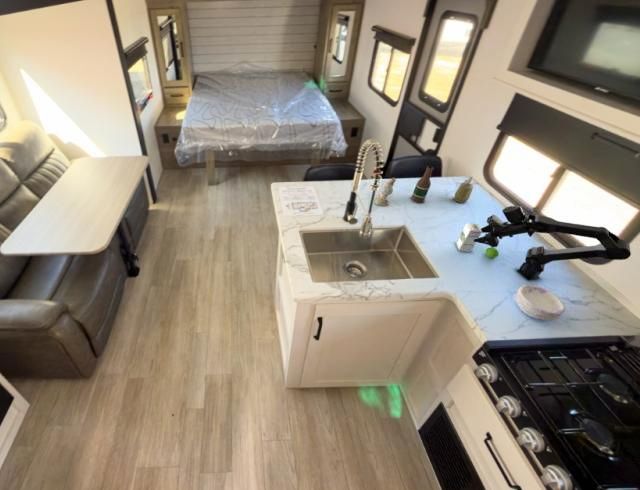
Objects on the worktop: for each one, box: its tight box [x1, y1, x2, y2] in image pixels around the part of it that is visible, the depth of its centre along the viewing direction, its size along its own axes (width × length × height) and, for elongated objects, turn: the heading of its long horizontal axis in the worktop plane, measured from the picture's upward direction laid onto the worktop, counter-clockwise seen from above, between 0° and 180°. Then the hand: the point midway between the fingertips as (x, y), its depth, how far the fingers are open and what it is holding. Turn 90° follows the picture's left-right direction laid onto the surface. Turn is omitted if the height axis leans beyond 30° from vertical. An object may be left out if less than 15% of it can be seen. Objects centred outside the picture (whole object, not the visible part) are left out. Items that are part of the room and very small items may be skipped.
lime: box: [485, 247, 500, 259], centre depth 161 cm, size 5×5×5 cm
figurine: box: [374, 177, 397, 206], centre depth 196 cm, size 9×8×20 cm
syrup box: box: [455, 223, 483, 253], centre depth 164 cm, size 6×6×14 cm
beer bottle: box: [411, 165, 434, 204], centre depth 196 cm, size 8×8×24 cm
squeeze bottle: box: [454, 175, 474, 204], centre depth 197 cm, size 8×8×18 cm
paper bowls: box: [513, 284, 566, 322], centre depth 135 cm, size 15×15×8 cm
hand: (475, 236), depth 161 cm, fingers open, 9 cm apart
